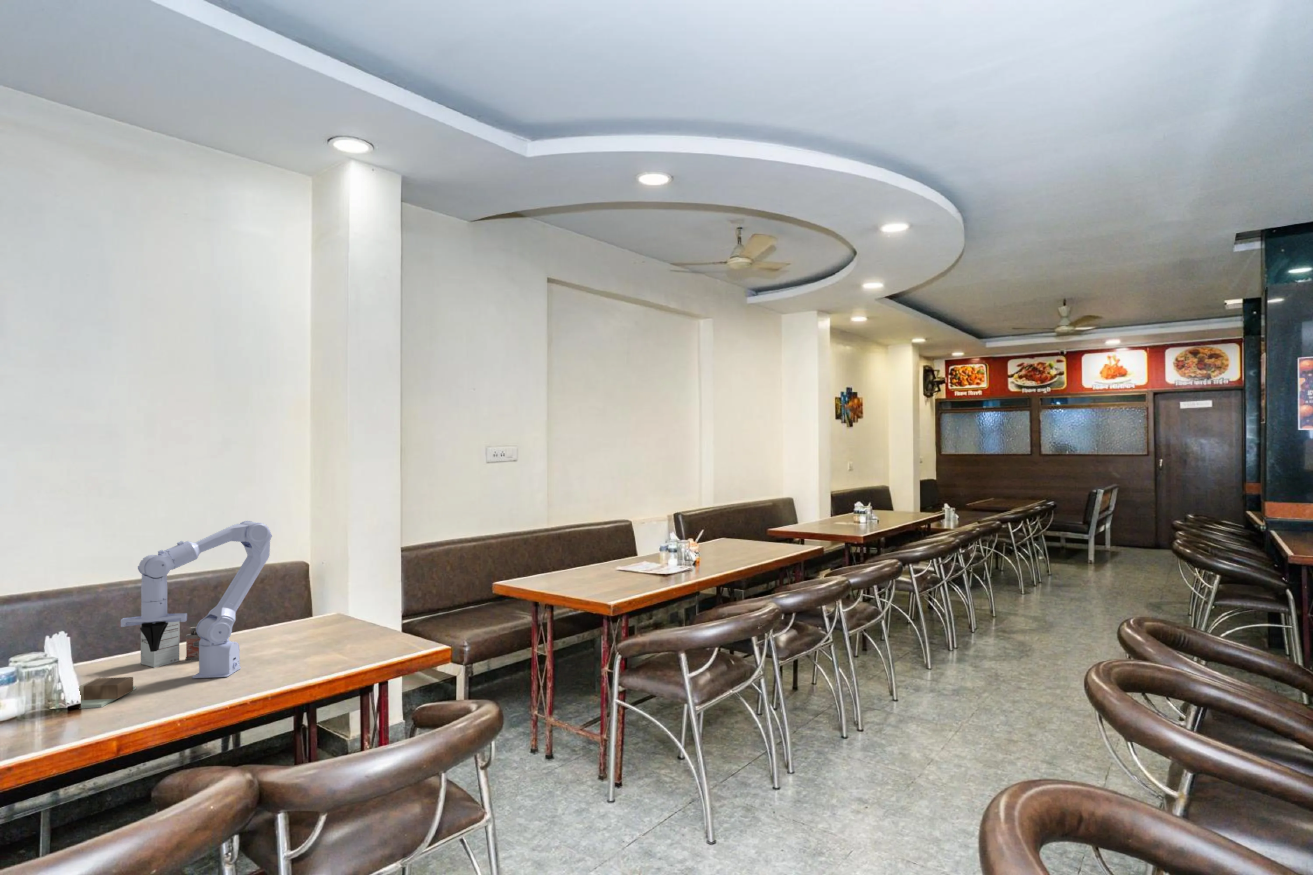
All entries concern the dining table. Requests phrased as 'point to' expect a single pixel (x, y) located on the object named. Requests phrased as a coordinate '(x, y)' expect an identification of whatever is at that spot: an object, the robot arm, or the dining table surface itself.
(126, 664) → the dining table surface
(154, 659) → the supplement box
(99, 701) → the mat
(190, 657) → the small bottle
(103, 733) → the dining table surface
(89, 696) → the walnut block
